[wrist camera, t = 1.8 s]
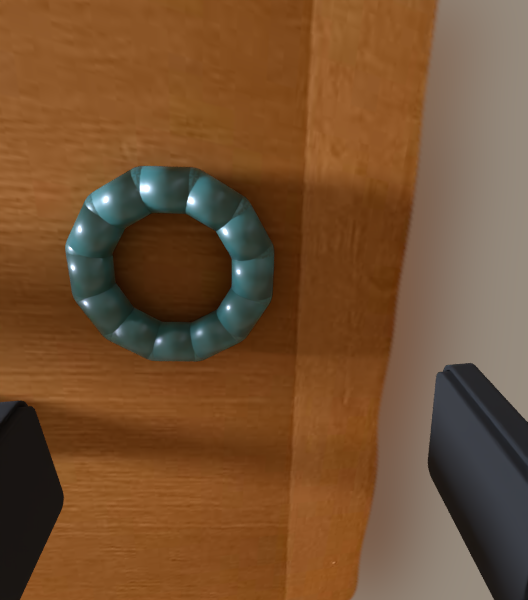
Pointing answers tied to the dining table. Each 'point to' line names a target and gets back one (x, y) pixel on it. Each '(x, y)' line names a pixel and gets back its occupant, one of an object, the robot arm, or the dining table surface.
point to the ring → (181, 200)
